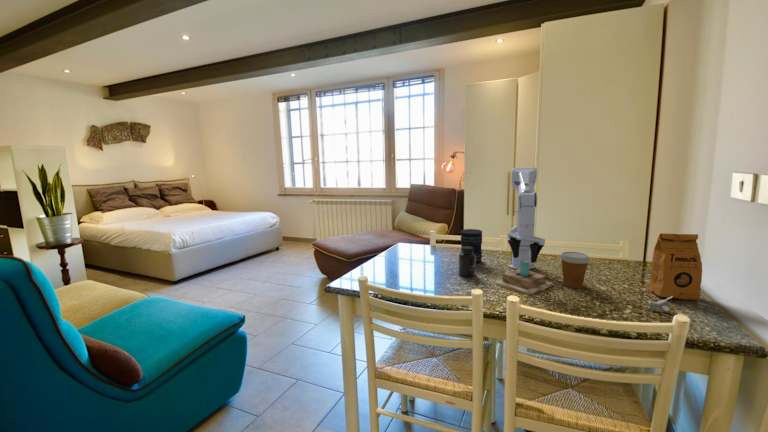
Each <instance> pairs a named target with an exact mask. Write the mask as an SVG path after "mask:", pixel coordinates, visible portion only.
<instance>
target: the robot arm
mask: <svg viewBox="0 0 768 432" xmlns="http://www.w3.org/2000/svg"><path fill="white" fill-rule="evenodd" d="M537 174H538V169H537V168H536V166H535V167H513V168H512V169H511V187H512V188H514V189H516V190H515V191H516V193H517V202H516V203H517V205H516V225H515V226H513V227H512V228H510V230H509V232H508V233H507V239H508V240H507V243H508V244H509V247H510V249H511V252H512V253H511V264H509V265H507V267H508V268H510V269H511V268H512V269H514V270H518V269H520V261H528V262H529V270H532V269H534V268H536V267H537V265H535V263H536V262H537V261H538V260H537V259H538V257H539V256H540V255H539V254H540V252H541V250H542V249H543V247H545V245H546V239H545V238H542V237H538V236H536V235H535V221H536V218H535V217H536V209H537V206H538V194H537V192H536V191H535V185H536V181H537V177H538V175H537Z"/></svg>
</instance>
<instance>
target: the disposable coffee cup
mask: <svg viewBox="0 0 768 432" xmlns="http://www.w3.org/2000/svg"><path fill="white" fill-rule="evenodd" d="M559 258H560V261H561V269H562V283H563V286H564V287H567V288H570V289H582V288H583V285H584V281H585V276H586V272H587V266H588V263H589V261H590V258H589V256H588V254H586V253H583V252H578V251H563V252H562V253H561V255H560V256H559Z"/></svg>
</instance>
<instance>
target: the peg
mask: <svg viewBox="0 0 768 432" xmlns="http://www.w3.org/2000/svg"><path fill="white" fill-rule="evenodd" d="M529 271H530V269H529V262H528V261H520V276H522V277H525V278H527V277H529Z"/></svg>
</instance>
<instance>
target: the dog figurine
mask: <svg viewBox="0 0 768 432" xmlns="http://www.w3.org/2000/svg"><path fill="white" fill-rule="evenodd" d="M671 299H674V298H673V296H671V297H668V298H665V299H660V300H658V301H652V300H650V299H649V298H647V300H648V302H647V305H648V307H647V310H648V311H649V310H653V309H657V308H659V311H661V313H663V312H669V311H670V309H671V304H670V303H669V302H668V301H669V300H671Z"/></svg>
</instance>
